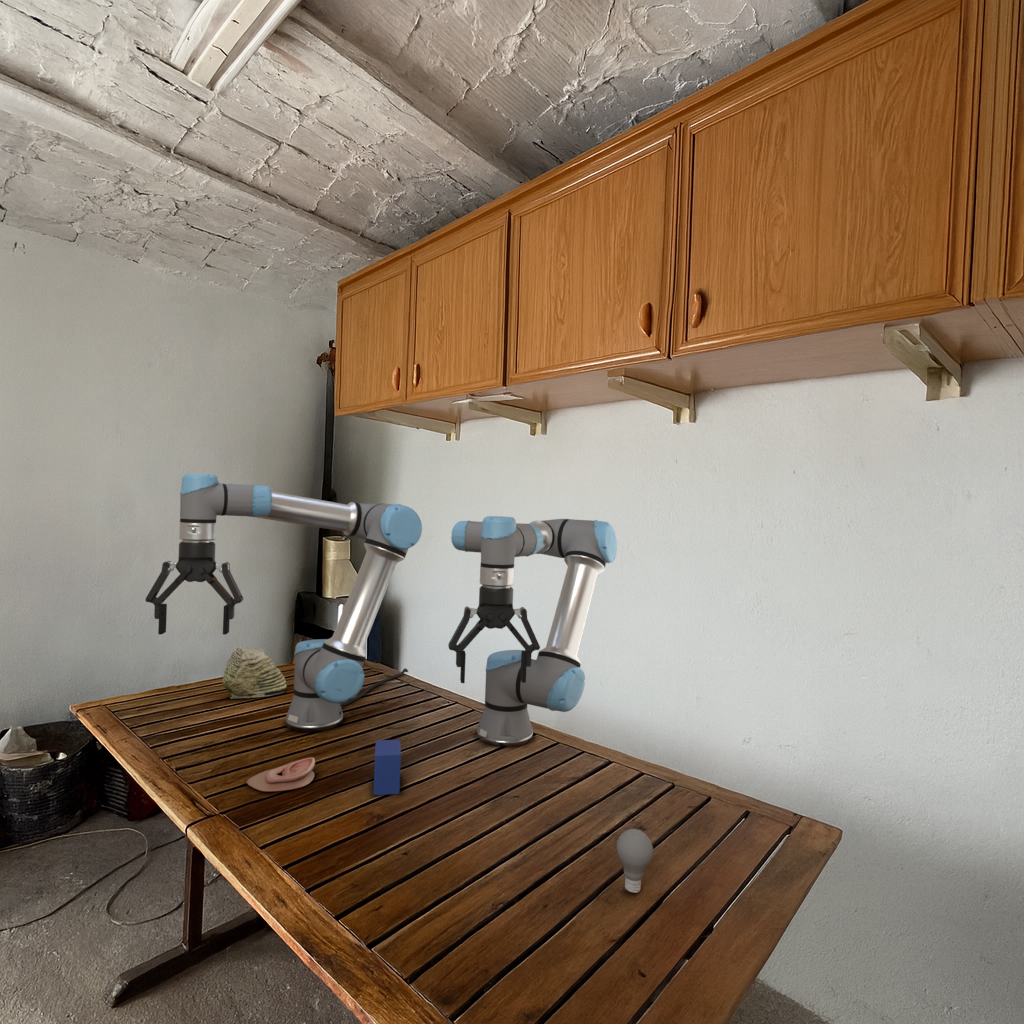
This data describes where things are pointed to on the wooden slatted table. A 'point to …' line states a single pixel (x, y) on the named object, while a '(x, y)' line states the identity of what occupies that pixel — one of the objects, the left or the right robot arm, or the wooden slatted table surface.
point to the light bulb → (634, 857)
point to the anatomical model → (284, 776)
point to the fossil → (252, 674)
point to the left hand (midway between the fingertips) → (194, 633)
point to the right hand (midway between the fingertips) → (492, 681)
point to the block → (387, 767)
